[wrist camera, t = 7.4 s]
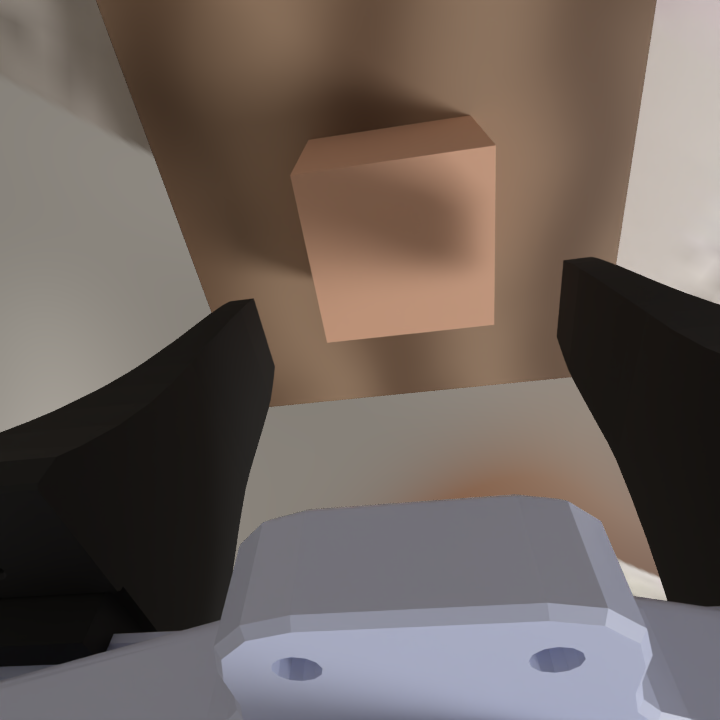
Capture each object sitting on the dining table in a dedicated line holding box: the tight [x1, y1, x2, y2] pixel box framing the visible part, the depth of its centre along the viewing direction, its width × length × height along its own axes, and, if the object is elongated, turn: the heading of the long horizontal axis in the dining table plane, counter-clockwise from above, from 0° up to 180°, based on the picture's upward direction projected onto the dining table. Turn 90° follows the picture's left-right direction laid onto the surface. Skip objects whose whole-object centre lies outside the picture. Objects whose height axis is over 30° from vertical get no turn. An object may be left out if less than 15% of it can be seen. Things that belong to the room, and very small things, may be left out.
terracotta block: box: [290, 115, 496, 343], centre depth 15 cm, size 5×5×4 cm
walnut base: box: [96, 0, 657, 407], centre depth 18 cm, size 15×15×2 cm
